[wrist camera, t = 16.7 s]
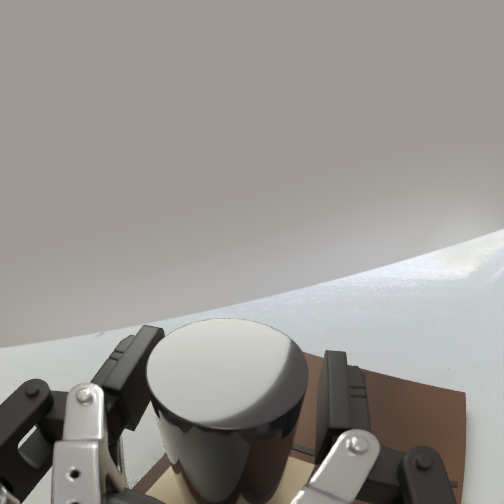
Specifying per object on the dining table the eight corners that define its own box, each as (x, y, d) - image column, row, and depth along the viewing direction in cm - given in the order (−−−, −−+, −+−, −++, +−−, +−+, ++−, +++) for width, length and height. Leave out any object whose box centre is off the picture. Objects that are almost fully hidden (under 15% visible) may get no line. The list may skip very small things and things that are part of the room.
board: (123, 511, 11) (115, 502, 11) (262, 350, 24) (263, 337, 24) (422, 614, 5) (436, 611, 4) (459, 403, 18) (466, 390, 17)
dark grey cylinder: (163, 501, 11) (111, 378, 8) (214, 441, 15) (204, 303, 12) (251, 546, 9) (265, 459, 6) (293, 474, 13) (329, 343, 10)
